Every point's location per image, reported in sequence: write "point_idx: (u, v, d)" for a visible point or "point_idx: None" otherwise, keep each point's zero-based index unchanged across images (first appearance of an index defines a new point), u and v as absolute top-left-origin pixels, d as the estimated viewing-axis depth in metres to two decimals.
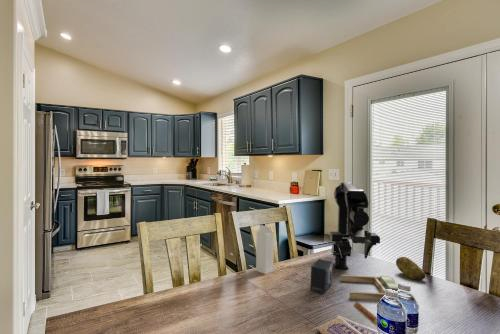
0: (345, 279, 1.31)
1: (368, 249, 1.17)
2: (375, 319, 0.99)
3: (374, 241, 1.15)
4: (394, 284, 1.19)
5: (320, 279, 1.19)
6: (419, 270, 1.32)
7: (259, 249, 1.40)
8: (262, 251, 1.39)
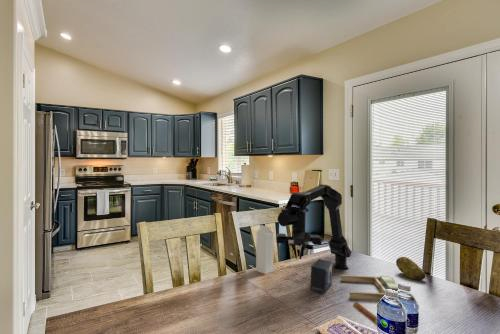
0: (345, 279, 1.31)
1: (302, 250, 1.23)
2: (376, 319, 0.99)
3: (316, 243, 1.21)
4: (394, 284, 1.19)
5: (320, 279, 1.19)
6: (419, 270, 1.32)
7: (259, 249, 1.40)
8: (262, 251, 1.39)
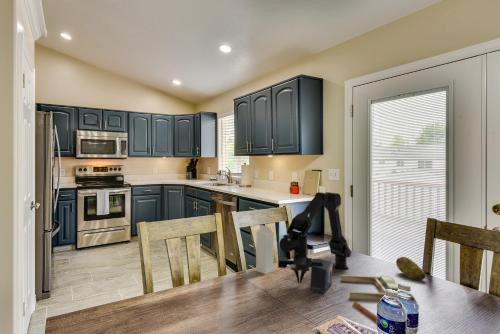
0: (345, 279, 1.31)
1: (302, 274, 1.24)
2: None
3: None
4: (394, 284, 1.19)
5: (320, 279, 1.19)
6: (419, 270, 1.32)
7: (259, 249, 1.40)
8: (262, 251, 1.39)
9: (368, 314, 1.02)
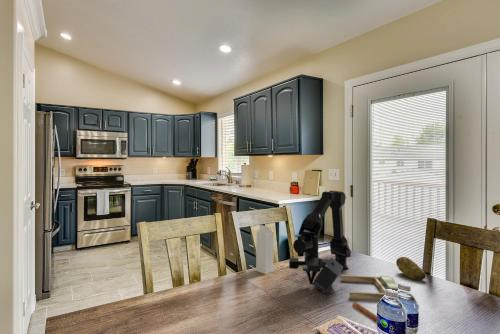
0: (345, 279, 1.31)
1: (313, 275, 1.23)
2: None
3: None
4: (394, 284, 1.19)
5: (327, 280, 1.18)
6: (419, 270, 1.32)
7: (259, 249, 1.40)
8: (262, 251, 1.39)
9: (368, 314, 1.02)
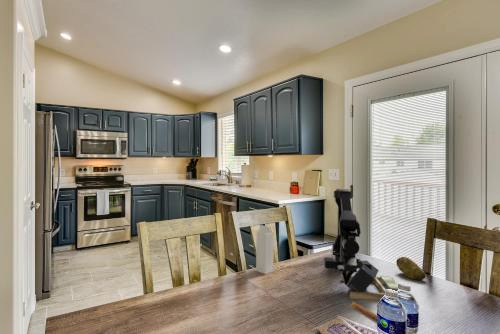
0: None
1: (349, 276, 1.21)
2: None
3: None
4: (394, 284, 1.19)
5: (363, 283, 1.15)
6: (419, 270, 1.32)
7: (259, 249, 1.40)
8: (262, 251, 1.39)
9: (369, 314, 1.02)
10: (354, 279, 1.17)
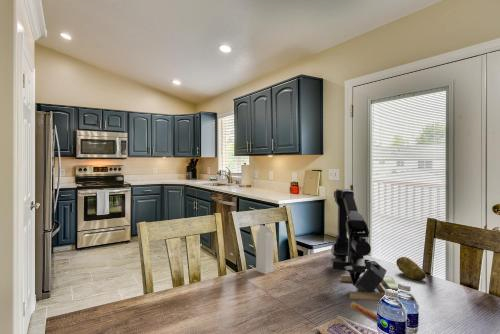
0: (345, 279, 1.31)
1: (357, 276, 1.21)
2: None
3: None
4: (394, 284, 1.19)
5: (372, 284, 1.15)
6: (419, 270, 1.32)
7: (259, 249, 1.40)
8: (262, 251, 1.39)
9: (369, 314, 1.02)
10: (362, 280, 1.17)
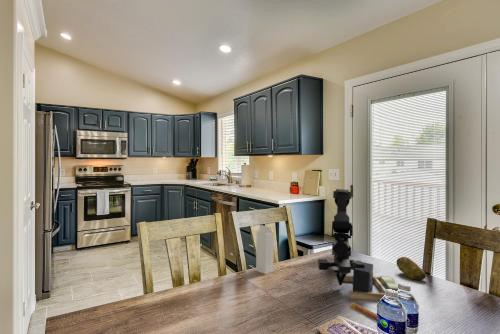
0: (345, 279, 1.31)
1: (343, 276, 1.22)
2: None
3: None
4: (394, 284, 1.19)
5: (363, 282, 1.17)
6: (419, 270, 1.32)
7: (259, 249, 1.40)
8: (262, 251, 1.39)
9: (369, 314, 1.02)
10: (354, 283, 1.19)
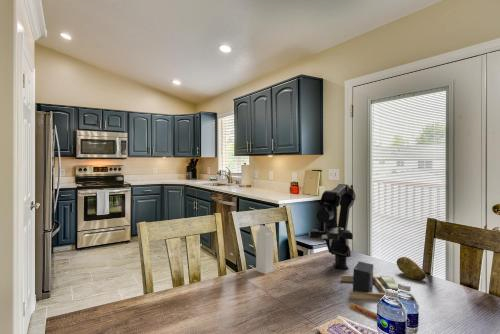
0: (345, 279, 1.31)
1: (332, 244, 1.32)
2: None
3: (347, 237, 1.29)
4: (394, 284, 1.19)
5: (363, 282, 1.17)
6: (419, 270, 1.32)
7: (259, 249, 1.40)
8: (262, 251, 1.39)
9: (369, 314, 1.02)
10: (354, 283, 1.19)
